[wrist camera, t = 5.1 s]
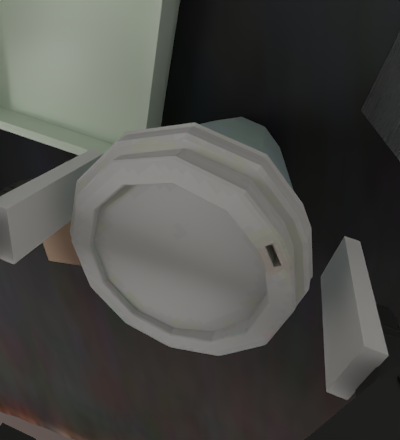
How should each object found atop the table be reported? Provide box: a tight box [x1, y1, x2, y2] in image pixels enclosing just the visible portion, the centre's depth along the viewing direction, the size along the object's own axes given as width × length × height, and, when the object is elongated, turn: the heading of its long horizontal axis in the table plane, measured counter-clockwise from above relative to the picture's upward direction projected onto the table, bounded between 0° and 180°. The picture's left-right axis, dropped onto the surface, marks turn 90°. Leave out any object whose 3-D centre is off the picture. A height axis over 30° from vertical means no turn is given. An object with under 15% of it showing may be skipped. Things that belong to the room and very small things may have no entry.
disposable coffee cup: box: [70, 117, 313, 356], centre depth 18 cm, size 11×11×15 cm
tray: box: [0, 0, 180, 155], centre depth 22 cm, size 15×15×3 cm
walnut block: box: [43, 221, 82, 266], centre depth 29 cm, size 5×5×5 cm
